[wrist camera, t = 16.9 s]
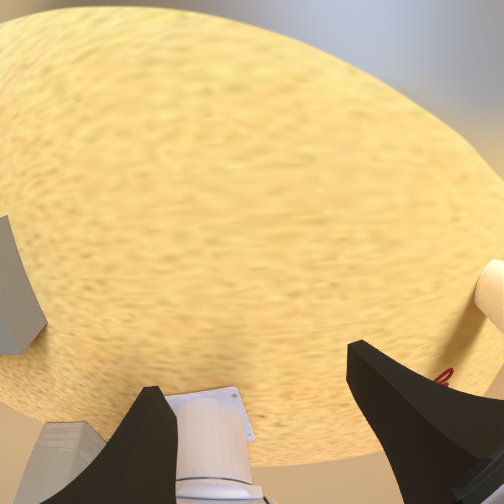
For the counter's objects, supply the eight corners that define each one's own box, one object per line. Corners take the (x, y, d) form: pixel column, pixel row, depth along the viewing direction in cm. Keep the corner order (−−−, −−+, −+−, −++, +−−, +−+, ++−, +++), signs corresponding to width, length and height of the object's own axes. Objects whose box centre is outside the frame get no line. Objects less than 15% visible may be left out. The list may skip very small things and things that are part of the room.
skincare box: (73, 448, 25) (52, 537, 10) (40, 416, 22) (6, 511, 7) (118, 449, 25) (104, 554, 10) (84, 416, 22) (53, 533, 8)
